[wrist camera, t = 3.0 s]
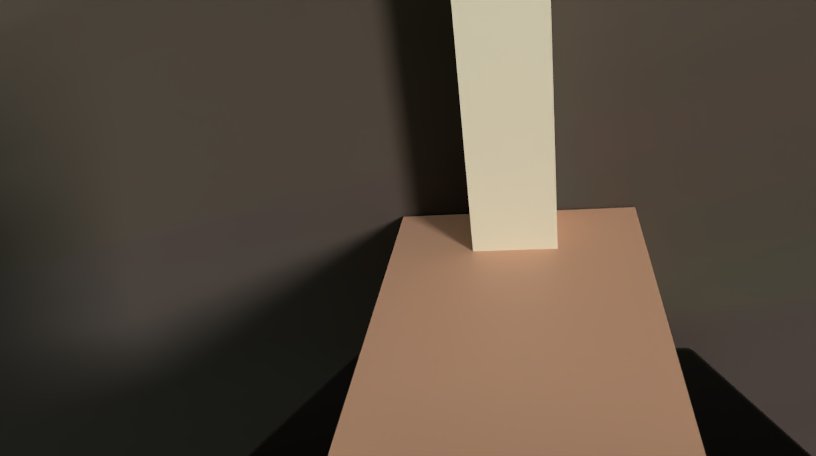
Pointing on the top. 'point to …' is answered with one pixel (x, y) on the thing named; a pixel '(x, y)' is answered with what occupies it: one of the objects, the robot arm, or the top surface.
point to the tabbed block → (516, 293)
